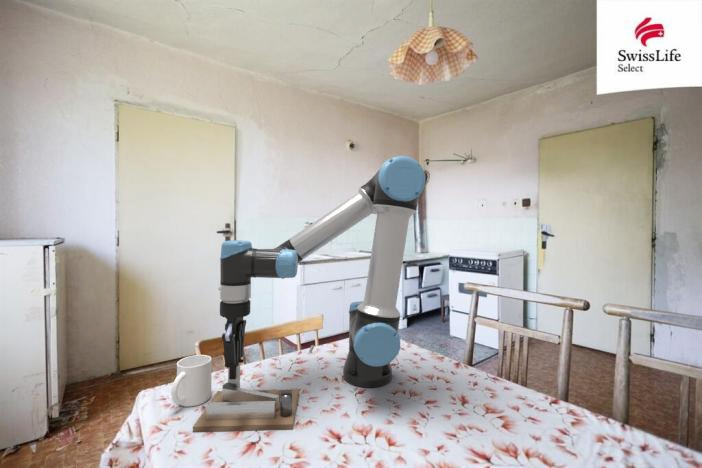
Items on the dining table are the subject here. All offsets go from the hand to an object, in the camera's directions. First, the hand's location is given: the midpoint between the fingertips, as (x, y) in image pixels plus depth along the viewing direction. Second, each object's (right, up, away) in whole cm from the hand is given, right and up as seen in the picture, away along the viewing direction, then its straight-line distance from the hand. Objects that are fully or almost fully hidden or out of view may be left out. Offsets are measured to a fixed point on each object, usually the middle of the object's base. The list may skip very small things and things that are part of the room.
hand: (233, 389), depth 86 cm
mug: (-11, -3, -1) cm, 12 cm away
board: (+6, -3, -4) cm, 8 cm away
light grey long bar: (+5, -2, -4) cm, 7 cm away
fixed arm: (+7, -2, -8) cm, 11 cm away
